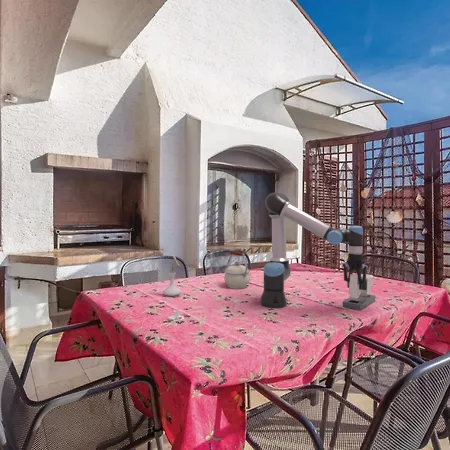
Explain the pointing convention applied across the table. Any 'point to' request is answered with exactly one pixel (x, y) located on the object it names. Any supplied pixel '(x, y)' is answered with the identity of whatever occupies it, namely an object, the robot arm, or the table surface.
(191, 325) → the table surface
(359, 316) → the table surface
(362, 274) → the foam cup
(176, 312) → the teacup and saucer
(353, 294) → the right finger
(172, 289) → the flower in vase
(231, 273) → the kettle
